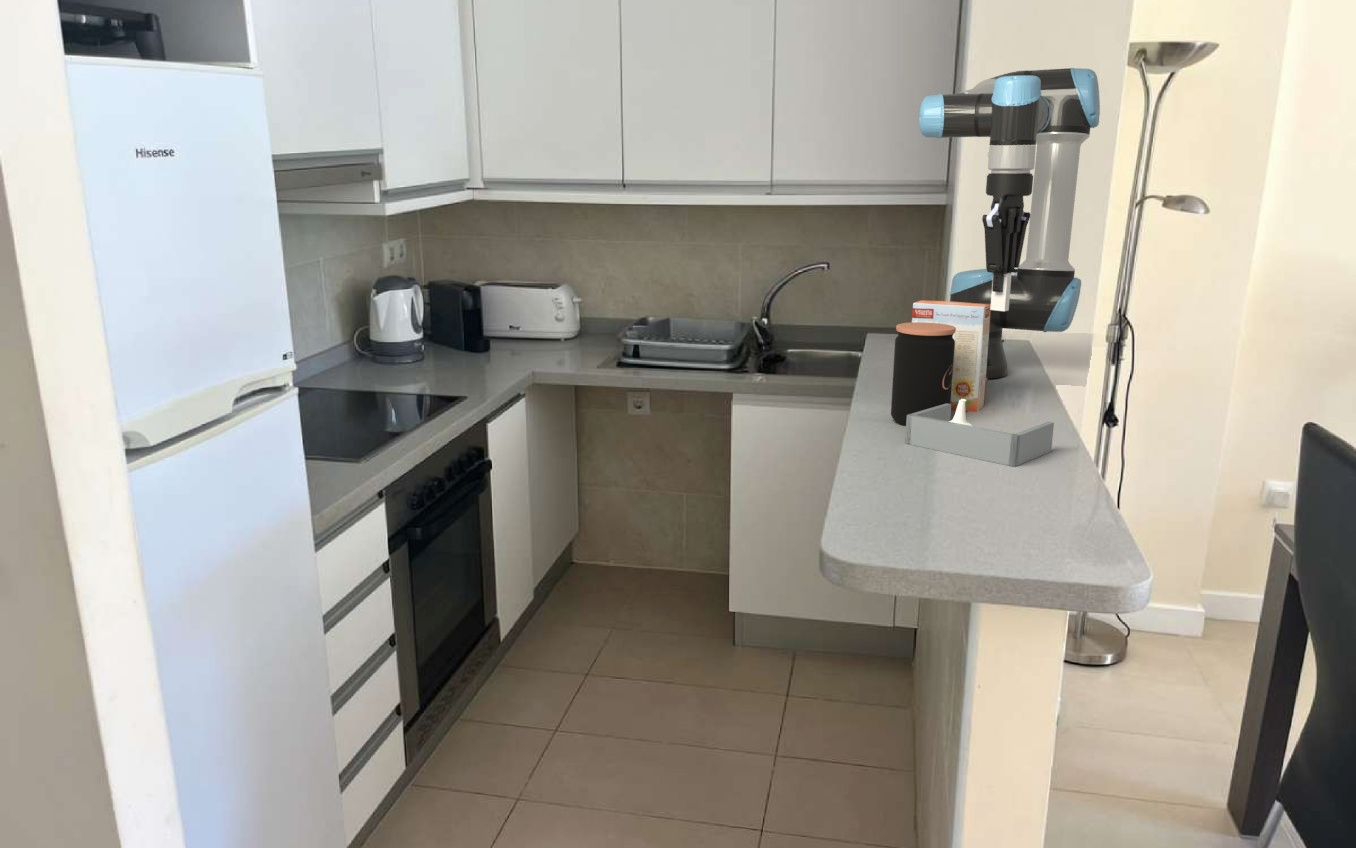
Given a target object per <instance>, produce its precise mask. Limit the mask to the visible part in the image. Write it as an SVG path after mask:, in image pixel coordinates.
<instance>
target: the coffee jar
mask: <svg viewBox="0 0 1356 848" xmlns="http://www.w3.org/2000/svg"><path fill="white" fill-rule="evenodd" d="M895 330H896V332H897V336H896V338H895V339H894V353H893V371H892V388H891V389H892V390H891V404H890V407H891V408H890V416H891V417H892V419H893V421H894V423H896V424H897V425H900V426H902V427H906V421H907V415H909V414H912V413H915V412H919V411H922V410H926V409H929V408H932V407H936V406H939V405H943V404H946V403H947V404H951V390H952V376H953V363H954V349H955V340H954V339H953V338H952V337H953V334H954V333H955V331H956V328H955V327H954V326H951V325H946V324H939V323H925V322H913V323H912V322H903V323H898V324H897V325H896V326H895Z"/></svg>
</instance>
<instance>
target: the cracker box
mask: <svg viewBox="0 0 1356 848" xmlns="http://www.w3.org/2000/svg"><path fill="white" fill-rule="evenodd" d="M990 307H991V304H979V303H965V302H950V300H949V301H947V300H928V299H927V300H926V299H925V300H924V299H923V300H922V299H921V300H918V301H915V302H913V304H912V314H911V316H912V317H911V323H913V322H925V323H939V324H946V325H951V326H954V327H955V328H956V331H955V333H954V334H953V337H952V338H953V339H954V340H955V349H954V363H953V376H952V390H951V410H954V409H957V406H958V403H959V400H961V399H965V400H966V401H965V412H971V413H978V412H979V411H980V410H982V409H983V407H984V406H985V399H984V395H985V396H986V393H985V382H986V368H987V354H988V341H989V327H990V312H991V310H990Z"/></svg>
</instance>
